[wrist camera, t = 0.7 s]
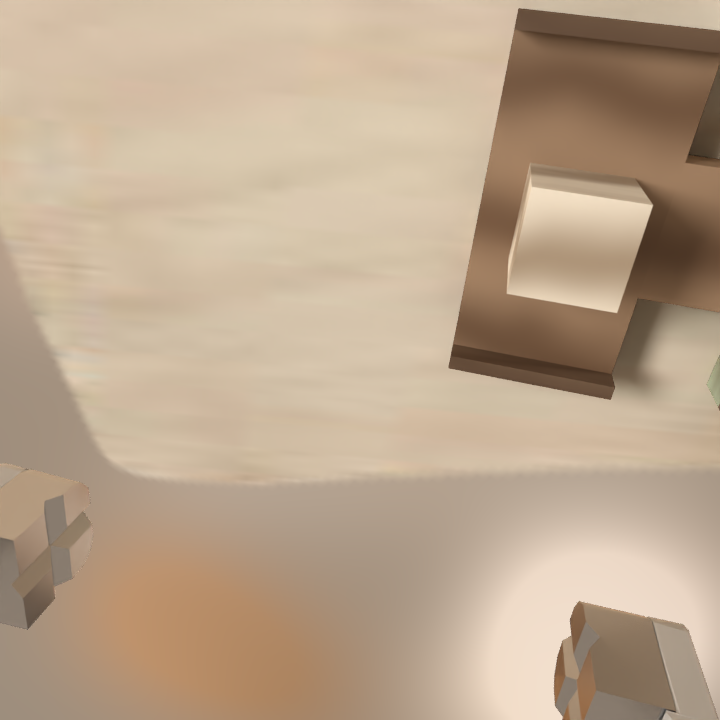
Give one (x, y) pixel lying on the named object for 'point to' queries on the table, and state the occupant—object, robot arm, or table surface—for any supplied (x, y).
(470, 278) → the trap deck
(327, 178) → the table surface
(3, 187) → the table surface
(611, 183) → the maple block
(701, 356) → the table surface
